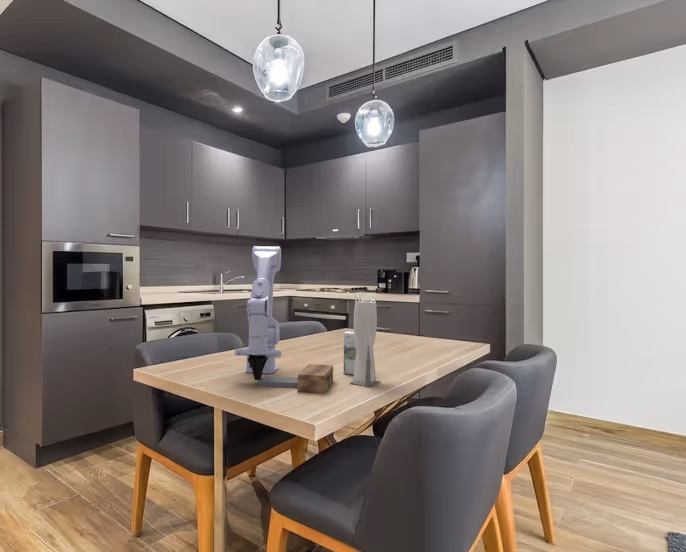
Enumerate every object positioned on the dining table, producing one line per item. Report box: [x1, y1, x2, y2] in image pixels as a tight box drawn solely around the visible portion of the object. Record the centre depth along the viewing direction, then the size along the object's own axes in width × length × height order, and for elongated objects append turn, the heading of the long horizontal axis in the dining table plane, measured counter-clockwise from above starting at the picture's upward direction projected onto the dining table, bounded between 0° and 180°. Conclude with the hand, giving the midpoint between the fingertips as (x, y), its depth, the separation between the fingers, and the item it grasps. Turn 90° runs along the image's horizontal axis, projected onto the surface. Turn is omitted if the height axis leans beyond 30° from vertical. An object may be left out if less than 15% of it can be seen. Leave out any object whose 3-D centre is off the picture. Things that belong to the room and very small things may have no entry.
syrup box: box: [343, 330, 357, 376], centre depth 140 cm, size 6×6×14 cm
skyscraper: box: [349, 293, 381, 388], centre depth 129 cm, size 8×8×28 cm
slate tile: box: [257, 375, 298, 389], centre depth 126 cm, size 13×7×2 cm, turn 84°
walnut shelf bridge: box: [296, 363, 334, 394], centre depth 124 cm, size 8×14×5 cm, turn 171°
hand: (257, 379), depth 127 cm, fingers closed
